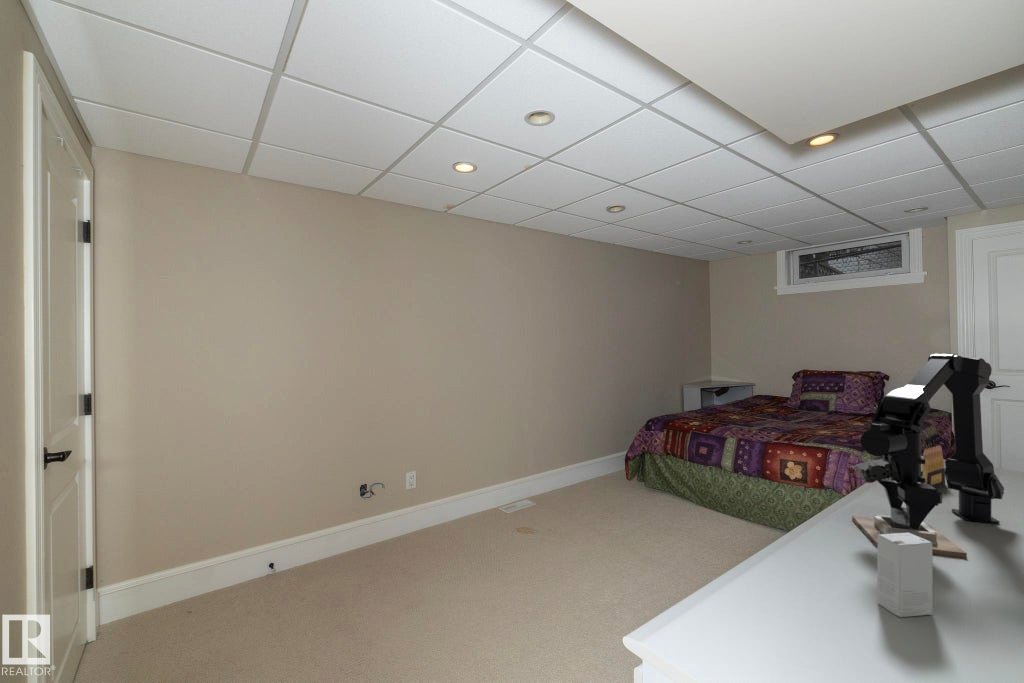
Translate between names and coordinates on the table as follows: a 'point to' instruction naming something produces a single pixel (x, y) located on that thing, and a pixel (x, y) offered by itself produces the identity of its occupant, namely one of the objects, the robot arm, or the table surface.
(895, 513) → the cylinder
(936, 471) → the ammunition clip
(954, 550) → the wooden board with frame
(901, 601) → the skincare box
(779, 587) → the table surface
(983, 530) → the table surface
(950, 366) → the robot arm
